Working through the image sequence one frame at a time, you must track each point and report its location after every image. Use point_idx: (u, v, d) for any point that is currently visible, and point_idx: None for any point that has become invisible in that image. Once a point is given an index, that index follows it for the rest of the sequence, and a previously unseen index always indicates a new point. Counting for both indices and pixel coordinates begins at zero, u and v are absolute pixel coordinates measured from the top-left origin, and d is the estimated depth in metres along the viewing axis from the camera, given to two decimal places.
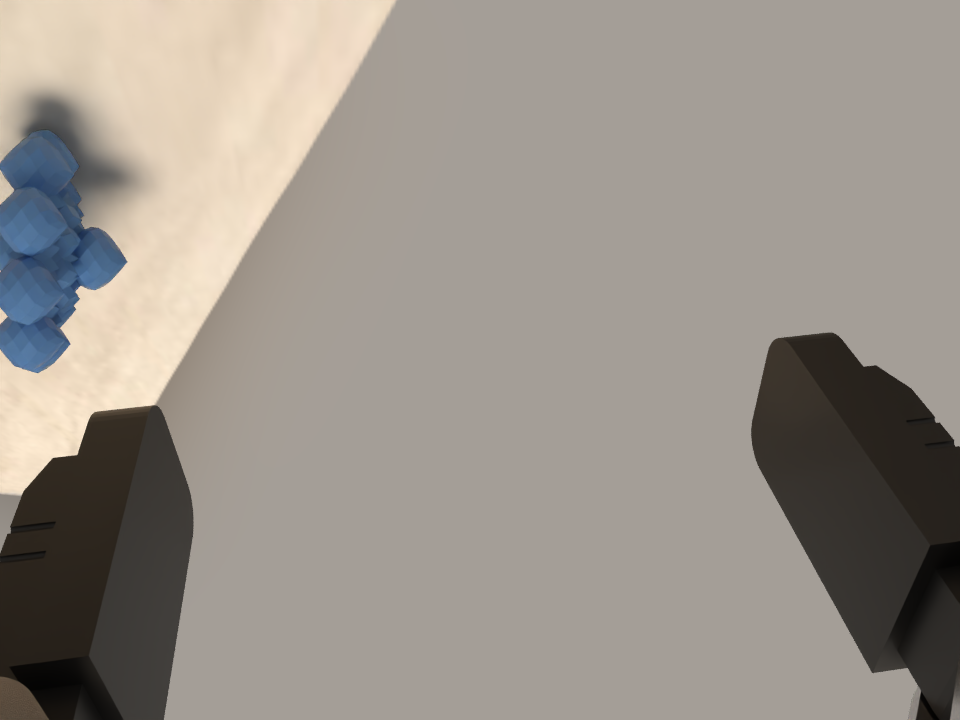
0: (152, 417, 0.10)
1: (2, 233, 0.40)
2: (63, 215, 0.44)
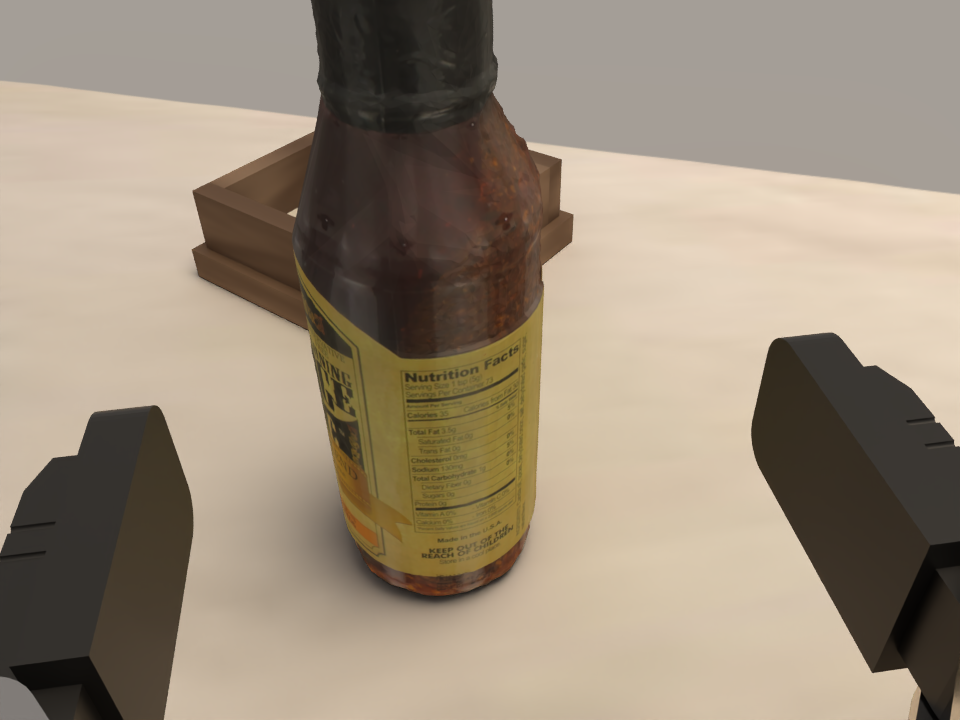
0: (152, 417, 0.10)
1: None
2: None
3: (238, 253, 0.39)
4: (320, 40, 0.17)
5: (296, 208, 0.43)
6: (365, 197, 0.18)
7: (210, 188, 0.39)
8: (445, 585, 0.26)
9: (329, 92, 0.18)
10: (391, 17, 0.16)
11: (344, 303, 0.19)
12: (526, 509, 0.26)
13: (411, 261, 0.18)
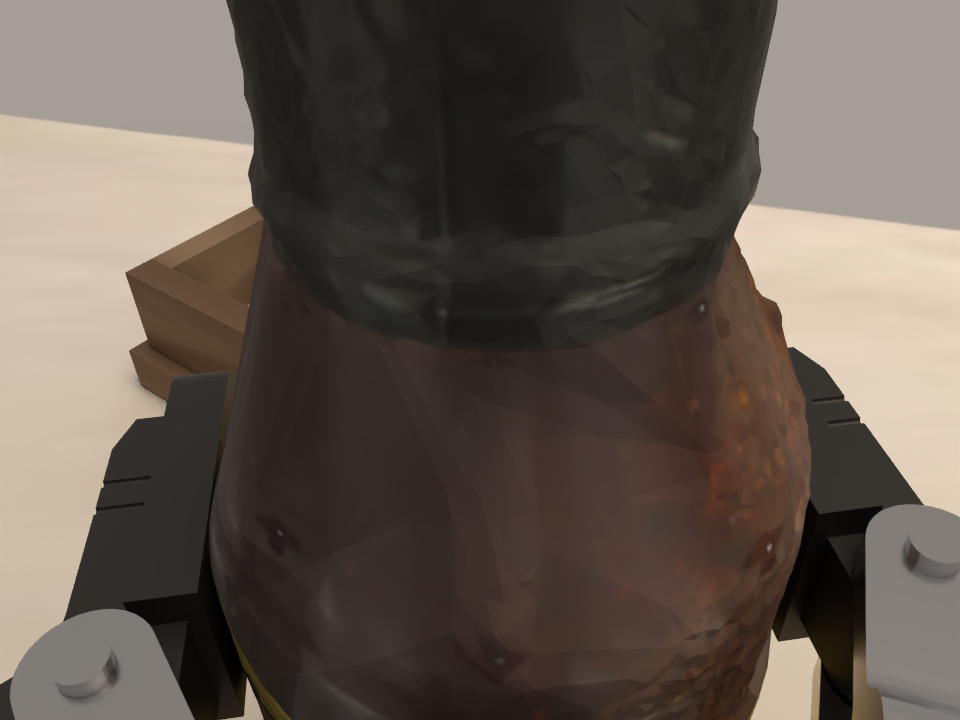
0: (230, 381, 0.11)
1: None
2: None
3: (192, 360, 0.27)
4: (245, 62, 0.06)
5: None
6: (383, 510, 0.06)
7: (151, 268, 0.27)
8: None
9: (277, 219, 0.06)
10: None
11: None
12: None
13: (516, 697, 0.06)
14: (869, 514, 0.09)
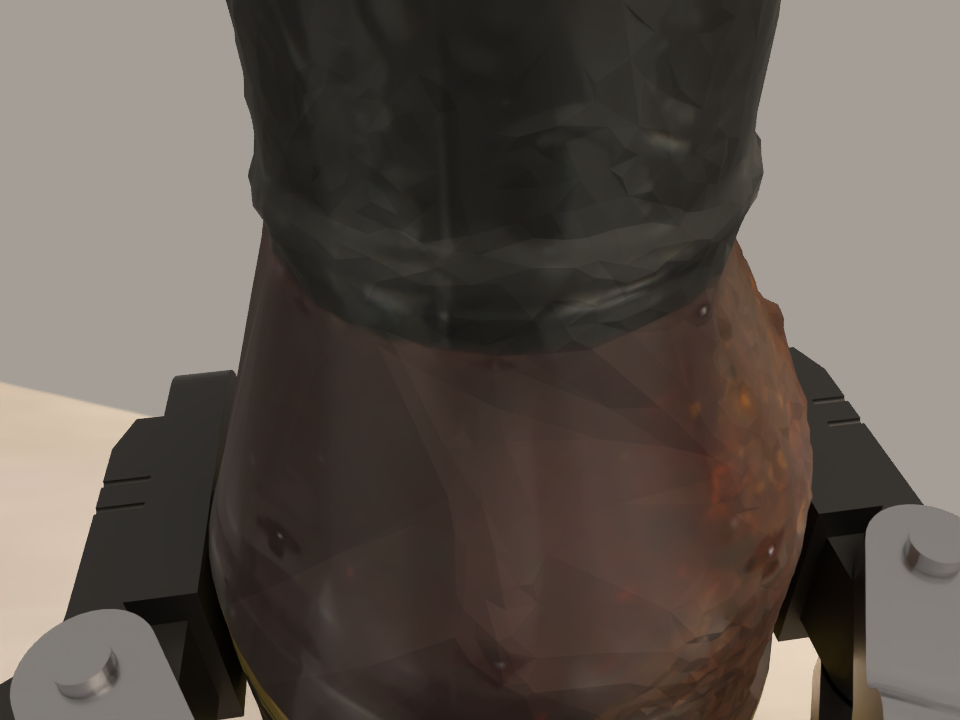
0: (230, 381, 0.11)
1: None
2: None
3: None
4: (245, 63, 0.05)
5: None
6: (383, 513, 0.06)
7: None
8: None
9: (276, 221, 0.06)
10: None
11: None
12: None
13: (518, 701, 0.06)
14: (869, 514, 0.09)
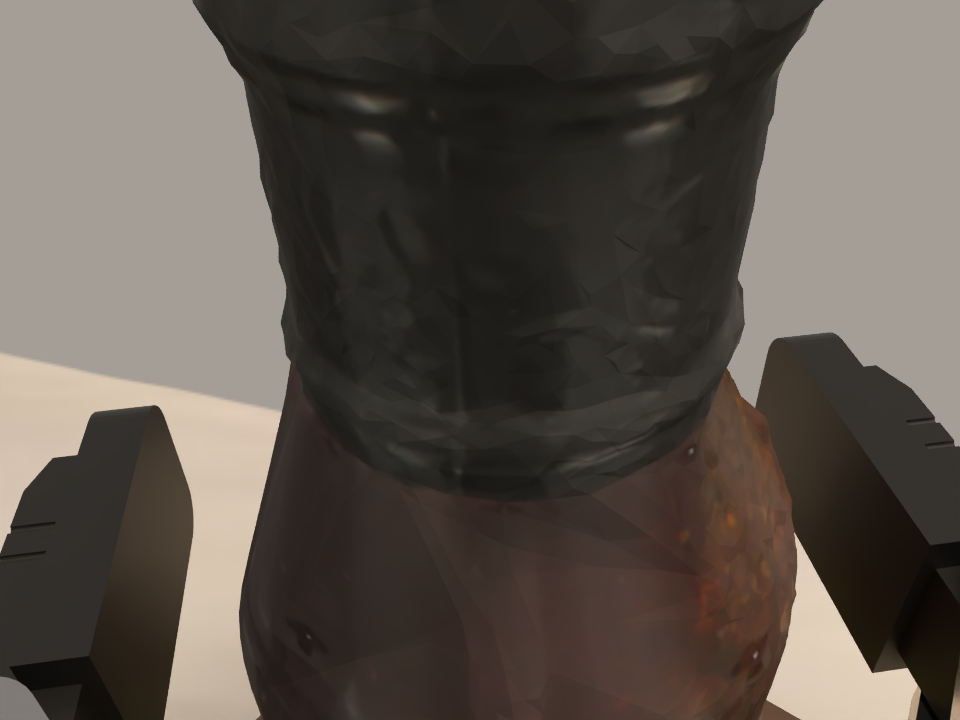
0: (152, 417, 0.10)
1: None
2: None
3: None
4: (282, 247, 0.06)
5: None
6: (405, 628, 0.07)
7: None
8: None
9: (309, 378, 0.07)
10: (503, 223, 0.05)
11: None
12: None
13: None
14: None
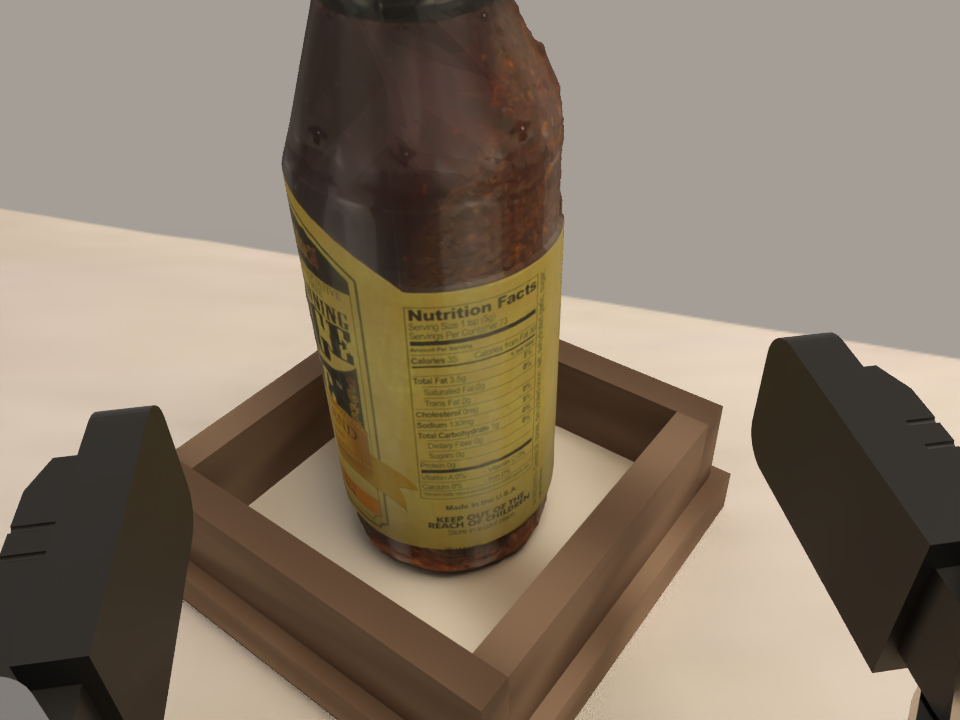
0: (152, 417, 0.10)
1: None
2: None
3: (214, 569, 0.25)
4: None
5: (306, 459, 0.28)
6: (361, 101, 0.16)
7: None
8: (454, 559, 0.24)
9: None
10: None
11: (339, 229, 0.17)
12: (543, 476, 0.24)
13: (413, 174, 0.16)
14: None
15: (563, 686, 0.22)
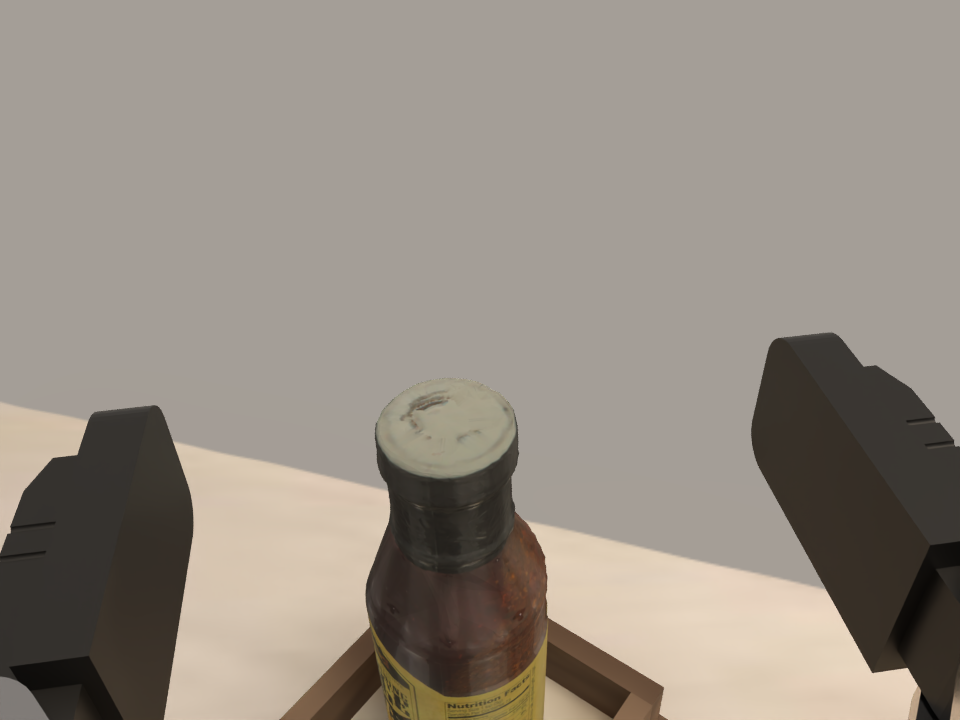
0: (152, 417, 0.10)
1: None
2: None
3: None
4: (393, 512, 0.25)
5: (362, 707, 0.39)
6: (422, 605, 0.26)
7: None
8: None
9: (399, 541, 0.26)
10: (444, 523, 0.24)
11: (406, 663, 0.27)
12: None
13: (454, 651, 0.26)
14: None
15: None
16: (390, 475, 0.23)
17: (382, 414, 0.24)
